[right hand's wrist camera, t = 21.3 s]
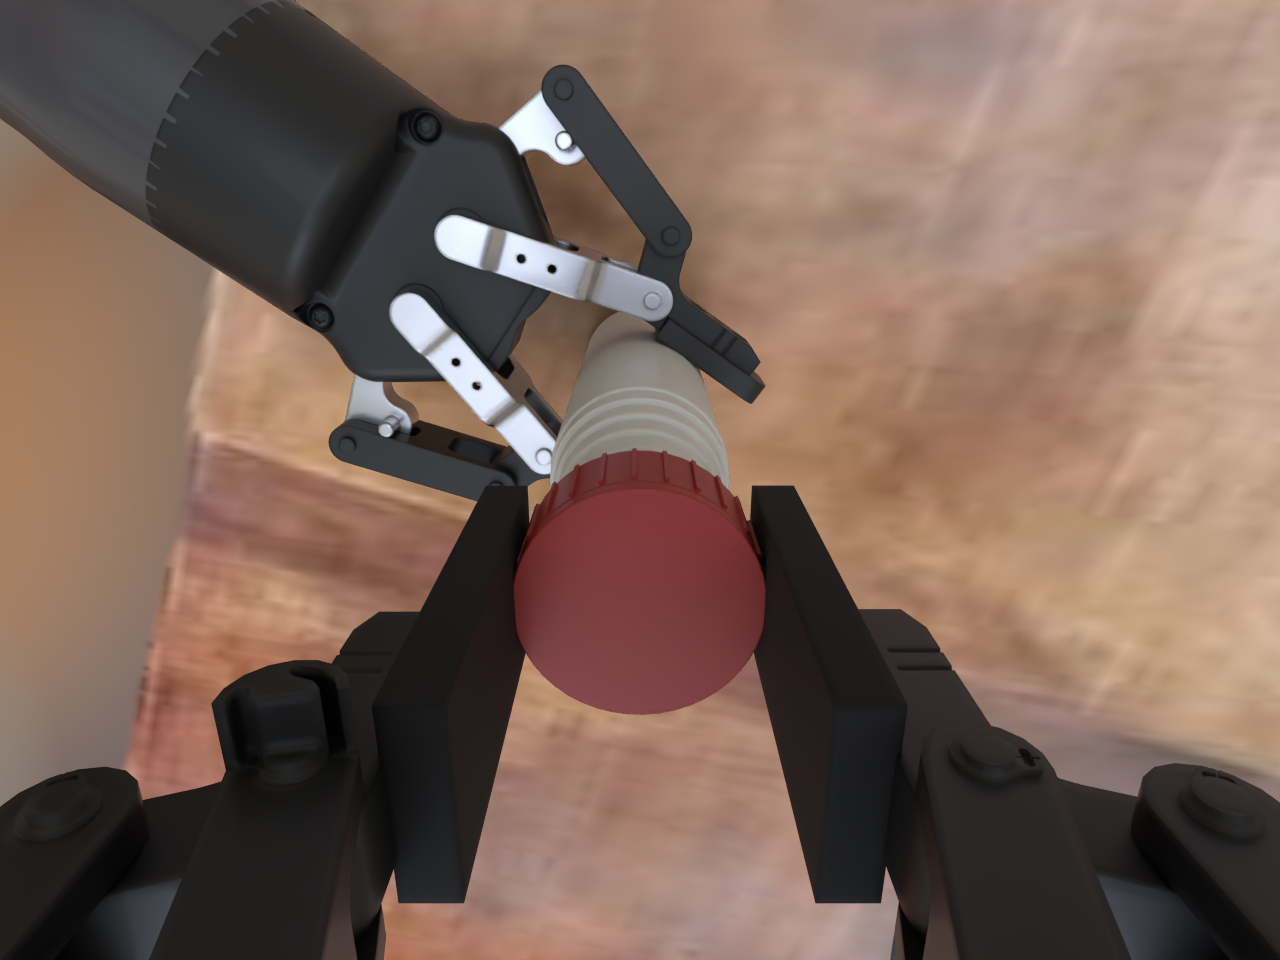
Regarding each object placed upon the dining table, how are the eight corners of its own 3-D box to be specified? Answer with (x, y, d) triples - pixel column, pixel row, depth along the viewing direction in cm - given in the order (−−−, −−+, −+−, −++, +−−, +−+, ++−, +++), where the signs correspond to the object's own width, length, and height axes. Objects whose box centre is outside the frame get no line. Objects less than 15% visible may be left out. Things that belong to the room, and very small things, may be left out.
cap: (490, 483, 14) (468, 526, 12) (721, 417, 14) (734, 451, 12) (566, 678, 16) (556, 743, 14) (778, 623, 15) (797, 682, 13)
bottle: (602, 293, 31) (549, 436, 13) (707, 324, 31) (798, 504, 13) (574, 397, 32) (491, 656, 14) (675, 425, 32) (718, 711, 15)
